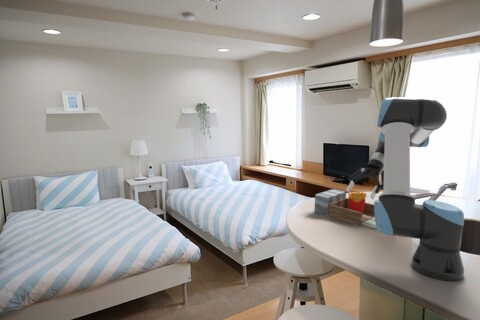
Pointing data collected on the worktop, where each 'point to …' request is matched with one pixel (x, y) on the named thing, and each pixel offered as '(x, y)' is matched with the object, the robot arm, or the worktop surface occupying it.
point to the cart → (343, 209)
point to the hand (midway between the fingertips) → (359, 194)
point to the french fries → (357, 201)
